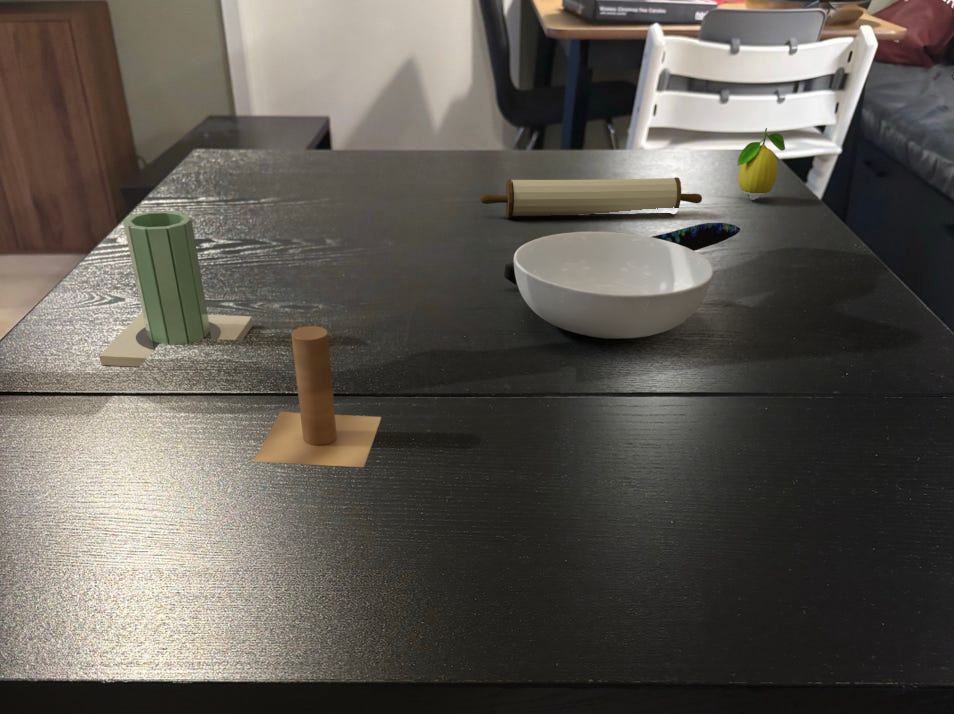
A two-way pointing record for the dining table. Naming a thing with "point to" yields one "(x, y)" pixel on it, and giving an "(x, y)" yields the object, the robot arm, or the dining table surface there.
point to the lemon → (759, 165)
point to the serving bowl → (611, 282)
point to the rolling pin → (589, 196)
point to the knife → (678, 239)
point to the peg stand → (317, 414)
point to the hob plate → (138, 346)
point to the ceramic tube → (168, 276)
